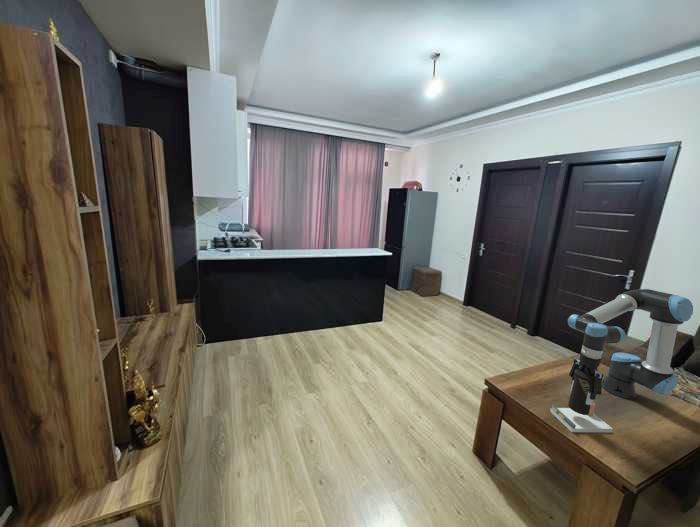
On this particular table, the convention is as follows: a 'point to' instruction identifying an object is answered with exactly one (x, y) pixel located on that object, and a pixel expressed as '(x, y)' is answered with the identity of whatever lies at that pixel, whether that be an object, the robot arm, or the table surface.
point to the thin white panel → (579, 421)
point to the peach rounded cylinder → (592, 409)
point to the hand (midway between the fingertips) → (580, 397)
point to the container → (580, 393)
